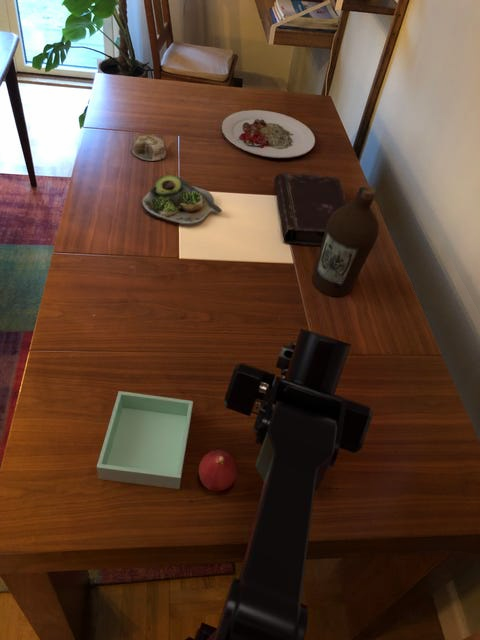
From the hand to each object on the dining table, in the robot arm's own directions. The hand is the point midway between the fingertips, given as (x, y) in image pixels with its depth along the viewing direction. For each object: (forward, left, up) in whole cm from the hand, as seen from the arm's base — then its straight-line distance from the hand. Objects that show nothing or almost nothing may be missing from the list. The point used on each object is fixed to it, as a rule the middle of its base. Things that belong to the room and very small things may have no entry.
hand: (296, 396), depth 71 cm
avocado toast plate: (+63, +27, -13) cm, 70 cm away
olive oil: (+42, -12, -13) cm, 45 cm away
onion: (-9, +10, -13) cm, 19 cm away
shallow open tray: (-4, +21, -13) cm, 26 cm away
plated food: (+107, +5, -13) cm, 108 cm away
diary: (+67, -8, -13) cm, 68 cm away
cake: (+86, +39, -13) cm, 95 cm away
